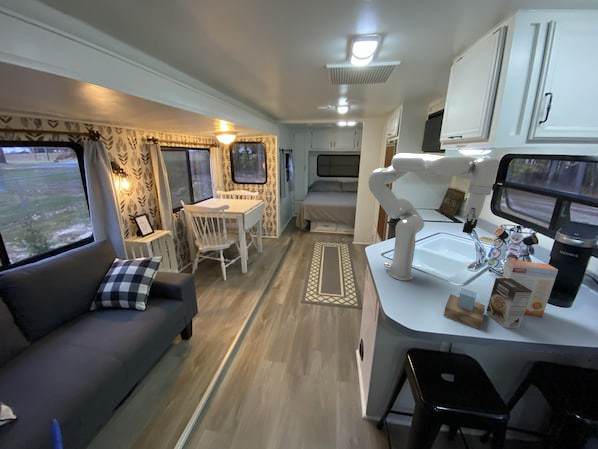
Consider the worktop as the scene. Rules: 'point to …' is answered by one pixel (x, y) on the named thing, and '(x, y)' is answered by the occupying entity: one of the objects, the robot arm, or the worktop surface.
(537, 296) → the cracker box
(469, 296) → the blue block
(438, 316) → the worktop surface
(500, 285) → the coffee box
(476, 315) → the walnut base
